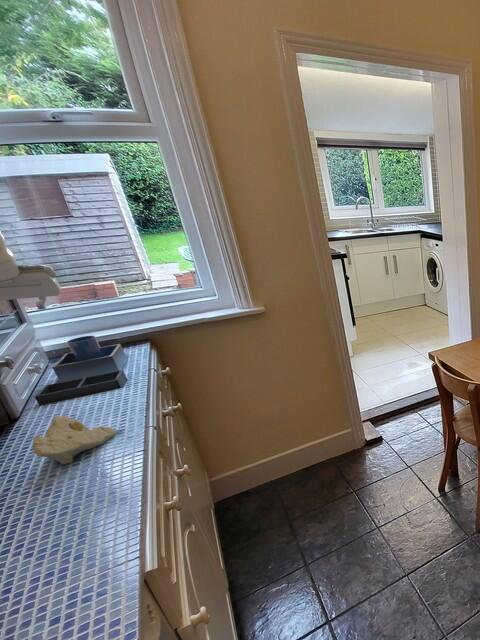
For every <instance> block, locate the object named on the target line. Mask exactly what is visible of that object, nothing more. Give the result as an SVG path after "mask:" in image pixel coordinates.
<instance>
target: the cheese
mask: <svg viewBox="0 0 480 640" xmlns="http://www.w3.org/2000/svg"><path fill="white" fill-rule="evenodd" d="M116 434H117V432H116V429H115V428H112V427H110V426H103V425H100V426H96V427H93V428H92V429H90V428H88V427H87V426H86V425H85V424H84V423H83V422H82V421H80V420H79V419H76V418H70V417H69V416H66V415H65V416H64V415H60V416H59V415H58V416H54V418H53V419H52V420H51V424H50V425H49V427H48V428H47V429H46V431H45V433H44V436H40V434H39V432H35V435H36V436H34V437H33V442H32V450H33V453H34V454H35V455H36V456H37V457H42V458H48V459H53V460H55V461H56V462H57V461H58V462H60V464H61V465H67V464H70V463H72V462H73V461H74V458H75V457H76V456H77V455H78V454H80V453H82V452H84V451H88V450H91V449H95V448H97V447H98V446H101V445H103V444H104V443H105V442H107V441H109V440H110V439H111V438H113V437H114V436H116Z"/></svg>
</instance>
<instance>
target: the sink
mask: <svg viewBox="0 0 480 640" xmlns="http://www.w3.org/2000/svg"><path fill="white" fill-rule="evenodd" d="M100 347H101V349H102V351H103V354H104V356H105V357H101V358H95V359H90V360H85V361H79V362H77V361H76V359H75V357H74V355H73V353H72V351H71V352H67V353H66V352H65V353H64V354H63V355H62V356H61V357H60V359H58V360H57V361H56V362H55V363H54V365H52V366H51V368H52V370H53V371H54V374H55V376H56V377H57V379H58V381H59V382H64V381H69V380H74V379H79V378H84V377H89V376H94V375H99V374H104V373H109V372H114V371H119V370H123V369H124V367H125V365H126V363H127V362H128V360H127V359H128V357H127V355H126V353H125V351H124V348H123V345H122V343H117V344H116V343H115V344H112V345H105V346H100Z"/></svg>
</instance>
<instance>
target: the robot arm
mask: <svg viewBox="0 0 480 640" xmlns="http://www.w3.org/2000/svg"><path fill="white" fill-rule="evenodd" d="M61 293H62V288H61V285H60V284H59V281H58V280H57V278H56V273H55V270H54V269H53V268H52V267H50V266H47V265H43V264H25V265H24V264H23V265H22V264H21V265H19V263H18V262H17V259H16V257H15V256H14V254H13V252H12V251H11V250H10V249H9V248H8V246H7V244H6V239H5V236H4V235H3V233H2V231H1V230H0V301H11V300H20V299H21V300H22V299H34V298H38V300H39V301H35V306H36V308H37V310H38V311H39V310H46V309H47V306H46V301H47V297H58V296H59V295H60V294H61Z"/></svg>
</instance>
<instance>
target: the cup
mask: <svg viewBox="0 0 480 640" xmlns="http://www.w3.org/2000/svg"><path fill="white" fill-rule="evenodd" d="M66 343H67V346H68V347H69V349H70V351H71V352H72V353H73V355H74V357H75V359H76V361H77V362H79V361H85V360H90V359H95V358H101V357H105V356H104V354H103V351H102V349H101V347H102V346H100V343H99V341H98V339H97V337H96V336H95V335H85V336H79V337H75V338H71V339H69V340H67V341H66Z"/></svg>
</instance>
